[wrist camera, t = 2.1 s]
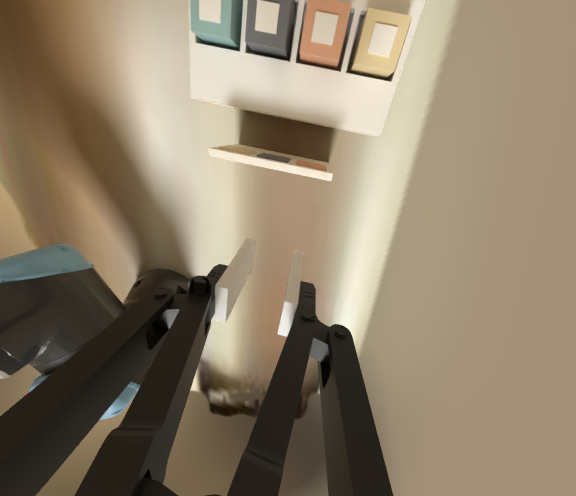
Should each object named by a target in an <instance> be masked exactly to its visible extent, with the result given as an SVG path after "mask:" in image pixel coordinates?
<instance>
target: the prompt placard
mask: <svg viewBox="0 0 576 496" xmlns="http://www.w3.org/2000/svg"><path fill="white" fill-rule="evenodd" d="M208 156H212V157H217V158H222V159H227V160H232V161H236V162H241V163H246V164H251V165H255V166H260V167H265V168H270V169H275V170H279V171H284V172H289V173H294V174H299V175H303V176H308V177H313V178H318V179H323V180H327V181H331V180H332V176H333V172H332V170H331V168H330V165H329V163H328V162H323V161H318V160H313V159H309V158H304V157H299V156H294V155H289V154H284V153H280V152H275V151H270V150H265V149H260V148H255V147H251V146H246V145H241V144H236V145H228V146H220V147H212V148H208Z"/></svg>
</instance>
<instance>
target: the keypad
mask: <svg viewBox="0 0 576 496" xmlns="http://www.w3.org/2000/svg"><path fill="white" fill-rule="evenodd" d="M307 1H308V0H293V2H294V8H295V19H294V26H293V33H292V40H291V47H290V54H289V60H284V59H279V58H274V57H269V56H264V55H259V54H254V53H253V51H252V50H251V49H250V47H249V46H248V45H247V43H246V42H245V32H246V18H247V3H248V0H243V12H242V28H241V44H240V51H239V50H234V49H229V48H224V47H219V46H214V45H209V44H206V43H205V42H204V41H203V40H202V39H200V38H199V37H198V36H197V35H196V34H194V33H193V32H192V31H191V10H190V0H189V43H190V92H191V98H194V99H197V100H200V101H204V102H207V103H212V104H217V105H222V106H227V107H231V108H236V109H241V110H246V111H251V112H256V113H261V114H266V115H271V116H275V117H280V118H285V119H290V120H295V121H300V122H305V123H310V124H315V125H319V126H324V127H329V128H334V129H339V130H344V131H349V132H354V133H359V134H364V135H368V136H380V135H381V132H382V129H383V126H384V123H385V120H386V117H387V114H388V111H389V108H390V105H391V102H392V99H393V96H394V93H395V90H396V87H397V84H398V81H399V78H400V75H401V72H402V69H403V66H404V63H405V60H406V57H407V54H408V51H409V48H410V45H411V42H412V39H413V36H414V33H415V30H416V27H417V24H418V21H419V18H420V15H421V12H422V9H423V6H424V3H425V1H426V0H332V1H337V2H343V3H348V4H352V5H351V10H350V14H349V19H348V23H347V28H346V32H345V36H344V41H343V45H342V50H341V54H340V59H339V62H338V66H337V69H336V70H334V69H329V68H324V67H319V66H314V65H309V64H304V63H302V62H301V58H300V53H299V51H300V45H301V39H302V33H303V26H304V20H305V14H306V7H307ZM368 8H373V9H379V10H384V11H389V12H394V13H399V14H404V15H410V16H412V18H411V22H410V25H409V28H408V31H407V34H406V37H405V40H404V43H403V46H402V49H401V53H400V56H399V59H398V62H397V65H396V68H395V71H394V72H393V73H392V74H390V75H389V76H388V77H387V78H385V79H379V78H374V77H369V76H364V75H359V74H354V73H349V72H350V68H351V64H352V60H353V56H354V52H355V48H356V44H357V40H358V36H359V32H360V27H361V24H362V22H363V19H364V17H365V15H366V12H367V10H368Z"/></svg>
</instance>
